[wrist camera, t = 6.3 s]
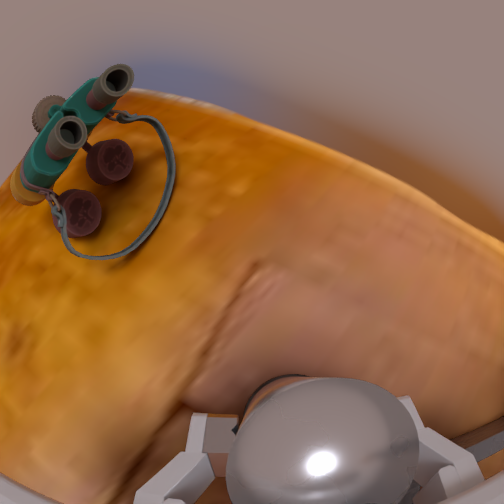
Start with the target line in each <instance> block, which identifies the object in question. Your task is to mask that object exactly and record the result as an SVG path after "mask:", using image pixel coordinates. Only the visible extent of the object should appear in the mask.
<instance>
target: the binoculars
mask: <svg viewBox="0 0 504 504" xmlns="http://www.w3.org/2000/svg"><path fill="white" fill-rule="evenodd" d="M133 81H134V73H133V70H132V69H131V68H130V67H129V66H127V65H124V64H117V65H114V66H111V67H109V68H108V69H107V70H106V71H105V72H104V73H103V74H102V75H101V76H100V77H95V78H92V79H90V80H88V81H87V82H86V83H84V84H83V85H82V86H81V87H80V88H79V89H78V90H76V91H75V92H74V93H73V94H72V95H71V96H70V97H69V98H68V99H67V100H65V99H64V98H62V97H59V96H55V95H53V96H48V97H46V98H43V100H41V101H40V102H39V103H38V104H37V106H36V108H35V110H34V112H33V116H32V119H33V120H32V123H33V126H34V127H35V128H34V129H36V131H37V132H39V134H38V136H37V137H36V138H35V140H34V141H33V143H32V144H31V146H30V147H29V149H28V151H27V152H26V154H25V156H24V158H23V160H22V161H21V162H20V163H19V165H18V166H17V167H16V169H15V170H14V172H13V174H12V177H11V181H10V188H11V192H12V194H13V196H14V198H15V199H16V200H17V201H18V202H19V203H21V204H23V205H27V206H32V205H36V204H39V203H41V202H42V201H43V200H45V199H46V200H47V201H48V202H49V204H50V207H51V213H52V217H53V222H54V225H55V227H56V229H57V230H58V231H59V232H60V233H61V236H62V239H63V242H64V244H65V246H66V248H67V249H68V250H69V251H70V252H71V253H72V254H74V255H76V256H78V257H82V258H86V259H91V260H107V259H114V258H118V257H121V256H124V255H126V254H128V253H129V252H131V251H133V250H134V249H135V248H137V247H138V246H139V245H140V244H141V243H142V242H143V241H144V240H145V239H146V238H147V237H148V235H149V234H150V233H151V232H152V231H153V229H154V228H155V226H156V225H157V224H158V222H159V220H160V219H161V217H162V215H163V213H164V211H165V209H166V207H167V204H168V201H169V198H170V195H171V192H172V188H173V184H174V178H175V158H174V152H173V149H172V145H171V142H170V140H169V137H168V135H167V132H166V131H165V129H164V127H163V125H162V124H161V123H160V122H159V121H158V120H157V119H155V118H154V117H151V116H147V115H141V116H137V113H136V114H134V115H130V114H129V113H128V112H127V111H120V110H112V108H113V107H114V106H115V104H116V102H117V100H118V99H119V98H120V97H121V96H123V95H124V94H125V93H126V92H128V91H129V89H130V88H131V86H132V84H133ZM114 113H119V114H118V115H117V116H116V119H115V118H112V117H111V116H113V115H114ZM136 116H137V117H136ZM104 117H106V118H108V119H110V120H112V121H118V122H119V123H123V124H126V123H131V122H134V121H144V122H147V123H149V124H151V125H152V126H153V127H154V128H155V130H156V131H157V133H158V135H159V137H160V139H161V141H162V144H163V146H164V150H165V154H166V158H167V165H168V172H167V181H166V185H165V189H164V193H163V197H162V199H161V202H160V205H159V207H158V209H157V211H156V213H155V215H154V217H153V219H152V220H151V222H150V223H149V225H148V226H147V227H146V229H145V230H144V231H143V232H142V234H141V235H140V236H139V237H138V238H137V239H136V240H135V241H134V242H133V243H132V244H131V245H130V246H128V247H127V248H125V249H124V250H122V251H120V252H117V253H114V254H111V255H105V256H88V255H83V254H81V253H79V252H77V251H76V250H75V249H74V248H73V247H72V246H71V244H70V242H69V239H68V237H69V238H77V237H81V236H85V235H88V234H90V233H92V232H93V231H94V230H95V229H96V228H97V226H98V225H99V222H100V219H101V206H100V203H99V200H98V199H97V198H96V196H95V195H94V194H92V193H91V192H88V191H85V190H77V189H71V190H67V191H65V192H63V193H62V194H61V195H60V196H58V195H57V194H56V193H54V192H53V191H52V190H53V187H54V184H55V181H56V180H57V179H58V178H59V177H60V175H61V174H62V173H63V172H64V171H65V169H66V168H67V167H68V165H69V163H70V162H71V160H72V159H73V157H74V156H75V154H76V153H77V151H78V150H79V148H80V147H82V148H83V149H84V150H85V151H86V152H87V153H88V154H87V158H86V168H87V172H88V174H89V176H90V177H91V178H92V180H93V181H95V182H96V183H98V184H100V185H110V184H113V183H115V182H117V181H119V180H121V179H123V178H124V177H126V176H127V175H128V174H129V173H130V171H131V169H132V166H133V153H132V151H131V149H130V147H129V146H128V144H127V143H125V142H124V141H122V140H119V139H111V140H105V141H100V142H98V143H96V144H95V145H93V146H91V145H90V144H89V143H88V142H87V140H88V137H89V136H90V134H91V133H92V130H93V128H94V127H95V126H96V125H97V124H98V123H99V122H100V121H101V120H102V119H103V118H104ZM52 202H54V203H55V204H54V206H53V204H52Z"/></svg>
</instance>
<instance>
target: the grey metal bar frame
mask: <svg viewBox="0 0 504 504" xmlns="http://www.w3.org/2000/svg"><path fill="white" fill-rule="evenodd" d="M450 441H452V442H453V443H455V444H456V445H458V446H460V447H461V448H463V449H465V450H466V451H468V452H470V453H471V454H473V456H474V458H475V460H476V462H479V461H481V460H483V459H485V458H487V457H489V456H490V455H492V454H494V453H496V452H498V451H500V450H502V449H503V448H504V416H503V417H501V418H499V419H497V420H495V421H493V422H491V423H489V424H487V425H485V426H482V427H480V428H478V429H476V430H473V431H471V432H468V433H466V434H464V435H461V436H459V437H456V438H453V439H451V440H450ZM420 486H421V485H419V484H418V483H417V482H416V481H415V480H414V479H413V481H412V483H411V485H410V487H409V489H408V491H407V493H406V494H405V496H404V497H403V499H402V500H401V501H400V503H399V504H414V503H413V500H412V499H413V497H414V496H415V495H416V494H417V493H418V492H419V491H420Z"/></svg>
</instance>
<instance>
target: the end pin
mask: <svg viewBox="0 0 504 504" xmlns="http://www.w3.org/2000/svg"><path fill="white" fill-rule="evenodd" d="M418 460H419V438H418V433H417V429H416V426H415V423H414V421H413V419H412V417H411V415H410V413H409V411H408V410H407V409H406V407H405V406H404V405H403V404H402V403H401V402H400V401H399V400H398V399H397V398H396V397H395V396H394V395H392V394H391V393H390V392H388V391H387V390H385V389H383V388H381V387H379V386H377V385H375V384H372V383H369V382H366V381H362V380H357V379H350V378H325V377H309V376H305V375H298V374H289V375H282V376H278V377H275V378H272V379H270V380H268V381H266V382H265V383H264V384H262V385H261V386H260V387H259V388H257V389H256V391H255V392H254V393H253V394H252V396H251V397H250V399H249V401H248V403H247V405H246V408H245V411H244V415H243V420H242V422H241V425H240V427H239V429H238V432H237V434H236V436H235V439H234V441H233V443H232V446H231V449H230V452H229V454H228V459H227V464H226V484H227V490H228V493H229V497H230V500H231V502H232V504H399V503H400V501H401V500H402V499H403V497H404V496H405V494H406V493H407V491H408V489H409V487H410V485H411V483H412V481H413V478H414V476H415V473H416V469H417V465H418Z"/></svg>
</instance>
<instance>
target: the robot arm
mask: <svg viewBox="0 0 504 504" xmlns="http://www.w3.org/2000/svg"><path fill="white" fill-rule="evenodd" d="M397 399H398V400H399V401H400V402H401V403H402V404H403V405H404V406H405V407H406V409H407V410H408V411H409V413H410V415H411V417H412V419H413V421H414V423H415V426H416V429H417V433H418V438H419V460H418V465H417V469H416V473H415V476H414V478H413V479H414V480H415V481H416V482H417V483H418V484H419V485H421V486H422V487H423V488H422V489H421V490H420V491H419V492H418V493H417V494H416V495H415V496H414V497H413V499H412V500H413V503H414V504H504V470H502V471H501V472H499V473H497V474H496V475H494V476H492V477H490V478H488V479H487V480H485V479H484V477H483V475H482V473H481V471H480V468H479V466H478V464H477V462H476V460H475V458H474V456H473V454H471V453H470V452H468V451H466V450H465V449H463V448H461V447H460V446H458V445H456V444H455V443H453V442H452V441H450V440H448V439H447V438H445V437H443V436H442V435H440V434H439V433H437V432H435V431H434V430H432V429H431V428H429V427H427V428H425V427H424V425H423V423H422V421H421V418H420V416H419V414H418V412H417V410H416V408H415V406H414V404H413V402H412V400H411V398H410V397H409V396H408V395H406V396H401V397H397ZM238 429H239V417H238V415H236V414H208V413H193V415H192V417H191V422H190V427H189V432H188V438H187V443H186V449H185V452H183V451H181V452H180V453H179V454H178V455H176V456H175V457H174V458H173V459H172V460H171V461H170V462H169V463H168V464H167V465H166V466H165V467H163V468H162V469H161V470H160V471H159V472H158V473H157V474H156V475H155V476H153V477H152V478H151V479H150V480H149V481H148V482H147V483H145V484H144V485H143V486H142V487H141V488H140V489H139V490H137V491H136V495H135V499H134V503H133V504H194V503H195V502H196V501H197V499H198V498H199V497H200V496H201V495H202V493H203V492H204V491H205V490H206V489H207V487H208V486H209V485H210V484H211V482H212V481H213V480H214V479H215V477H226V464H227V459H228V454H229V452H230V449H231V446H232V443H233V441H234V439H235V436H236V434H237V432H238ZM0 504H64V503H61V502H59V501H56V500H54V499H52V498H49V497H47V496H45V495H43V494H41V493H38V492H36V491H34V490H32V489H30V488H28V487H26V486H24V485H22V484H20V483H18V482H17V481H15V480H13V479H11V478H9V477H8V476H6V475H4V474H2V473H0Z"/></svg>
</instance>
